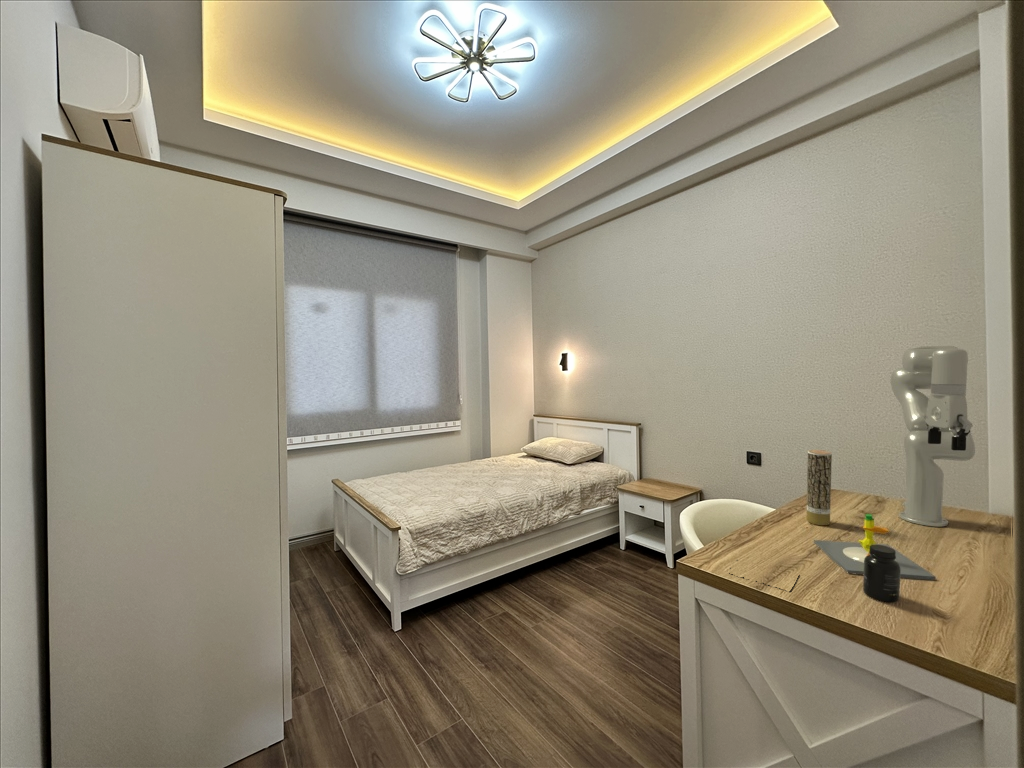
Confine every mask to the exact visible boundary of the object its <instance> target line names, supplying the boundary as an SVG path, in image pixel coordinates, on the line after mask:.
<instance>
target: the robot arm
mask: <svg viewBox="0 0 1024 768" xmlns="http://www.w3.org/2000/svg"><path fill="white" fill-rule="evenodd" d="M968 361H969V356H968V351H967V350H965V349H962V348H958V347H956V346H954V345H930V346H928V345H927V346H923V345H921V346H917V347H914V348H907V349H905V351H904V352H903V354H902V358H901V365H902V367H900V368H897V369H895V370H893V371H892V372H891V376H890V387H891V390H892V393H893V394H894V397H895V398H896V399H897V401H898V402H899V404H900V405H901V408H902V409H901V410H902V413H903V414H902V415H903V419H904V423H905V428H906V429H907V430H908V432H907V433H906V434H905V436H904V437H903V445H904V453H905V459H906V462H905V463H906V464H905V465H906V468H905V469H906V471H905V475H906V477H905V499H904V500H905V501H904V502H902V504H901V505H902V507H904V510H903V511H900V512H898V516H899V518H900V519H902V520H904V521H906V522H909V523H913V524H917V525H921V526H927V527H936V528H937V527H939V528H940V527H942V528H943V527H946V526H948V525H949V520H948V519H947V518H944V517H943V500H944V499H943V498H944V497H943V496H944V479H945V478H944V471H943V469H942V468H941V467H940V466H939V465H938V464H937V463H936V462H935V461H934V460H944V461H957V462H958V461H959V462H966V461H971V460H972V459H973V458H974V457H975V455H976V445H975V441H974V439H973V435H972V432H971V429H972V427H973V423H972V422H971V421H970V420H969V419H968V404H967V397H966V396H967V380H968V379H967V377H968V376H967V375H968V372H967V371H968ZM919 390H930V394H929V397H928V396H927V395H926V394H924V393H923V392H921V391H919Z"/></svg>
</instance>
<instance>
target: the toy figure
mask: <svg viewBox="0 0 1024 768" xmlns="http://www.w3.org/2000/svg"><path fill="white" fill-rule="evenodd" d="M862 530H864V534H865V537H864V538H863V539H862V540H861V539H857V541H858V543H860V544H861V545H862V546H863V548H864V549H865V551H867V552H868V554H867V556H868V555H870V554H869V551H870V546H871V545H875V544H877V543H876V541H875V539H874V538H873V537H874V533H877V534H884V535H885V534H886V533H889V529H888V528H885V527H881V526H877V525H876V526H875V519H874V518H873V515H872V514H865V517H864V525H863V526H862Z"/></svg>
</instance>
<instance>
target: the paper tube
mask: <svg viewBox="0 0 1024 768" xmlns="http://www.w3.org/2000/svg"><path fill="white" fill-rule="evenodd" d="M806 473H807V475H806V476H807V478H806V479H807V480H806V482H807V483H806V521H807V522H808V523H810V524H813V525H817V526H828V525H830V523H831V497H832V496H831V494H832V452H831V451H828V450H821V449H820V450H819V449H808V450H807V472H806Z"/></svg>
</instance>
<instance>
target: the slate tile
mask: <svg viewBox="0 0 1024 768" xmlns="http://www.w3.org/2000/svg"><path fill="white" fill-rule="evenodd" d="M814 543H815V544H816V545H818V546H819V547H820V548H821V549H822V550H823V551H824V552H825V553H826V554H827V555H828V556H827V557H829V558H830V559H831V561H833V562H834V563H835V562H836V563H837V564H838V565H839V566H838V567H839V568H841V567H842V568H843V569H844V570H845V571H846V572H848V573H856V574H855V575H857V574H864V559H865V557H866V556H867V554H868V552H867V551H865V549H864V548H863V546H862V545H861V544H860V542H855V541H854V542H852V541H849V542H848V541H838V540H837V541H836V540H819V539H814V540H813V544H814ZM815 544H814V545H815ZM816 545H815V546H816ZM876 545H883V546H887V547H890V548H892V549H894V550H895V551H896V555H895V556H896V559H895V561H897V562H898V563H899V565H900V568H901V571H900V579H911V580H924V581H925V580H927V581H936V576H935V574H932V573H931V572H929V571H928V570H927V569H925V568H924V567H922V566H921V565H919V564H918V563H916V562H915V561H913V560H912V559H910V558H908V557H907V556H906V555H904V554H903V553H901V552H899V550H897V549H895V548H894V547H893V546H892V545H889V544H885V543H876ZM818 546H817V547H818ZM819 547H818V548H819ZM820 548H819V549H820ZM821 549H820V550H821ZM822 550H821V551H822ZM823 551H822V552H823ZM824 552H823V553H824ZM825 553H824V554H825ZM826 554H825V555H826ZM836 563H835V564H836ZM837 564H836V565H837ZM842 568H841V569H842ZM843 569H842V570H843ZM844 570H843V571H844ZM845 571H844V572H845ZM846 572H845V573H846Z"/></svg>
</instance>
